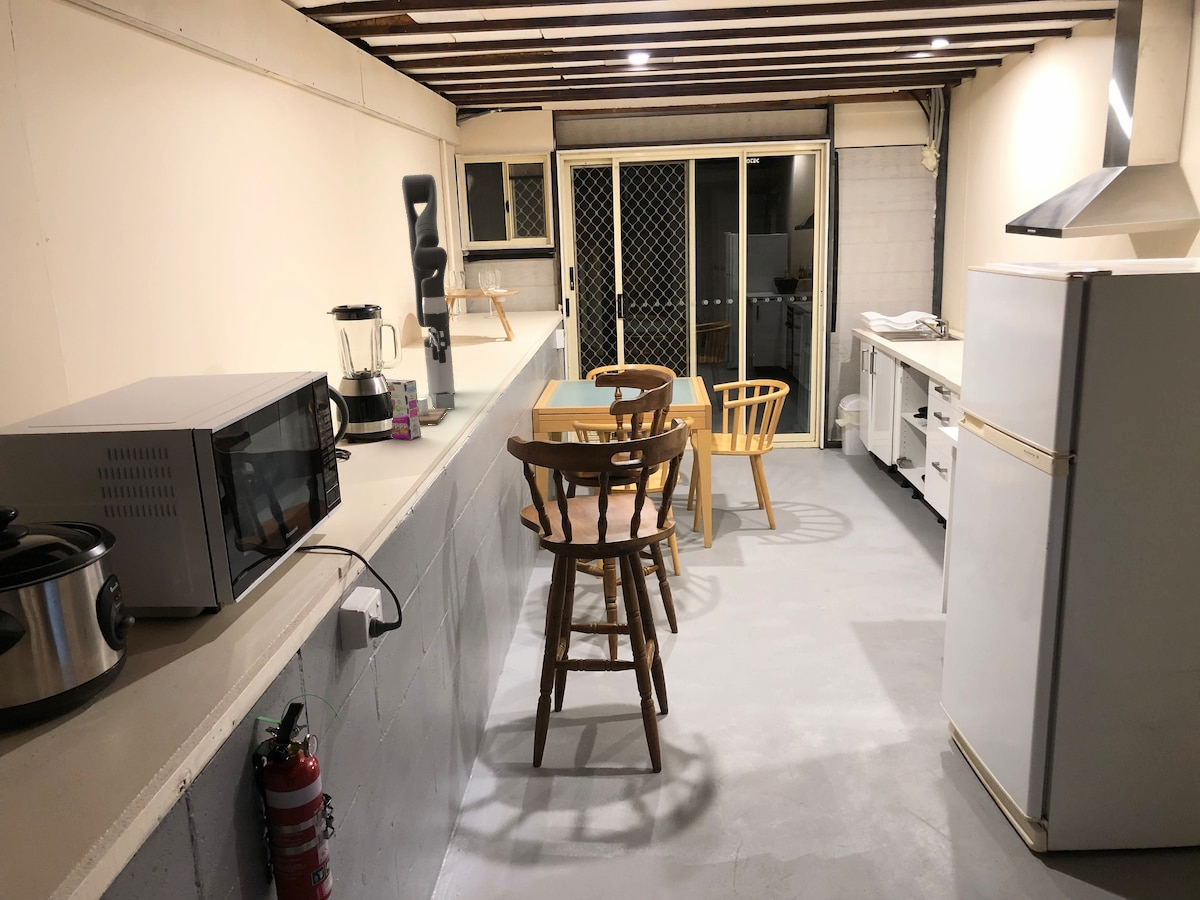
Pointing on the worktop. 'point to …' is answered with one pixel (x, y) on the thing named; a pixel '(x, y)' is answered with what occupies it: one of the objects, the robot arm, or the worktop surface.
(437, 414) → the walnut base
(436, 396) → the hollow metal block
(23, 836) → the worktop surface
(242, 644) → the worktop surface
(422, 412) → the square post
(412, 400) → the candy bar box
